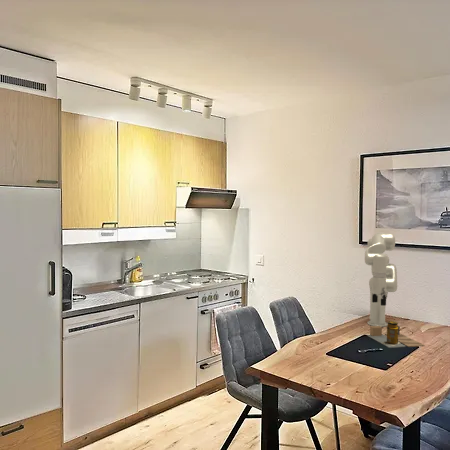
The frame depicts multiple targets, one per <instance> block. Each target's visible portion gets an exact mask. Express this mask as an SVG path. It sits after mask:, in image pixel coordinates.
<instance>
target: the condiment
mask: <svg viewBox="0 0 450 450" xmlns="http://www.w3.org/2000/svg"><path fill="white" fill-rule="evenodd" d="M387 323H388V325H387V326H386V334H387V341H385V342H382V343H383V344H387V345H391V346H395V345H398V344H400V342H398V327H397V326H399V325H398V322H397V321H394V320H392V321H391V320H389V321H387ZM383 344H382V345H383Z"/></svg>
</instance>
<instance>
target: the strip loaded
mask: <svg viewBox="0 0 450 450" xmlns="http://www.w3.org/2000/svg"><path fill="white" fill-rule="evenodd" d="M366 336H367V337H369V338H370V339H373V340H374V341H376V342H377V343H379V344H381V345H383V346H385V347H387V348H389V349H392V348H394V349H395V348H406V347H407V346H406V345H404V344H402V343H400V342H399V343H400V344H398V345H395V346H391V345H387V344H383V343H382V342H385V341H387V336H386V335H385V334H383V327H380V326H371V325H370V327H369V334H367V335H366Z"/></svg>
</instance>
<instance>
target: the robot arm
mask: <svg viewBox="0 0 450 450" xmlns="http://www.w3.org/2000/svg"><path fill="white" fill-rule="evenodd" d="M395 245H396V237H395V235H394V234H393V233H375V234H373V235H372V238H369V239H368V240H367V248H366V249H365V251H364V263H365V265H367V266H371V268H370V269H371V275H372V277H371V278H370V279H369V281H368V285H369V294H370V295H369V297H370V298H369V300H370V306H369V308H370V309H369V316H368V319H369V320H368V321H367V325H369V326H370V327H371V326H380V327H382V328H383V327H387V326H388V321H387V322H386V306H387V298H388V294H389V293H395V292H396V291H398V271H397V266H396V265H395V264H394V263H390V256H389V255H388V254H386V253H385V252H386V251H389V252H390V251H393V250H394V249H395Z"/></svg>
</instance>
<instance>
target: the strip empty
mask: <svg viewBox="0 0 450 450" xmlns="http://www.w3.org/2000/svg"><path fill="white" fill-rule="evenodd" d="M397 327H398V342H399V343H401V344H403V345H405V346H406V347H407V348H414V347H415V348H416V347H425V344H423V343H421V342H419V341H417V340H416V339H413V338H411V337H408V336H407V335H404V334H402V333H400V332H401V331H400V330H401V328H400V327H401V326H399V325H398V326H397ZM384 335H385V336H387V333H385V334H384Z"/></svg>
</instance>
